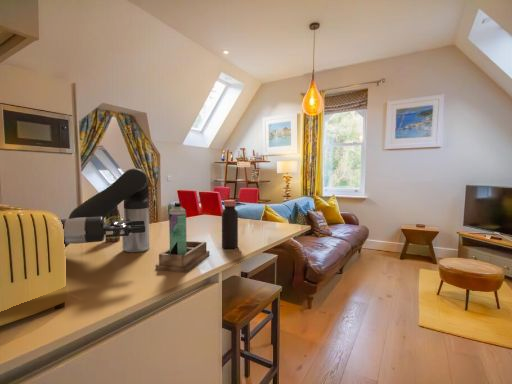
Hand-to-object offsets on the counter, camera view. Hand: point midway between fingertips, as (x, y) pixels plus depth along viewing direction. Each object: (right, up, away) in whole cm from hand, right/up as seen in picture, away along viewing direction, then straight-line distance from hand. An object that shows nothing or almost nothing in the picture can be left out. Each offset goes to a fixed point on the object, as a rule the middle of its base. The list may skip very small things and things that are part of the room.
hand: (144, 226), depth 85 cm
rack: (+10, -14, +10) cm, 20 cm away
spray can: (+9, -13, +5) cm, 17 cm away
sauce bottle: (-31, -12, +38) cm, 50 cm away
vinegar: (+24, -13, +29) cm, 40 cm away
